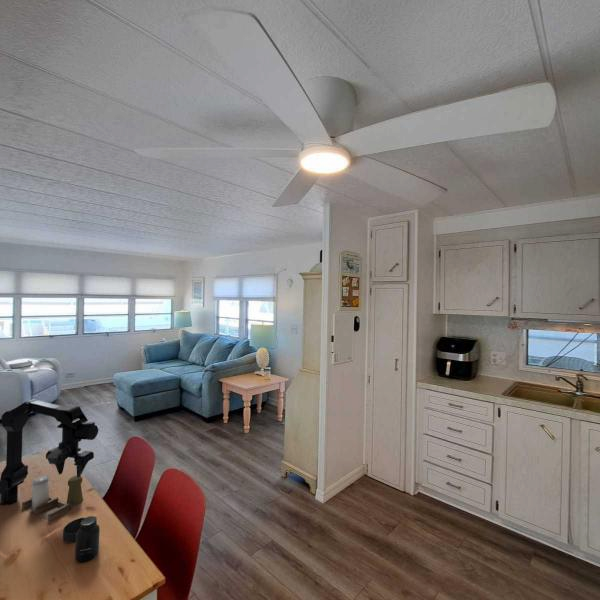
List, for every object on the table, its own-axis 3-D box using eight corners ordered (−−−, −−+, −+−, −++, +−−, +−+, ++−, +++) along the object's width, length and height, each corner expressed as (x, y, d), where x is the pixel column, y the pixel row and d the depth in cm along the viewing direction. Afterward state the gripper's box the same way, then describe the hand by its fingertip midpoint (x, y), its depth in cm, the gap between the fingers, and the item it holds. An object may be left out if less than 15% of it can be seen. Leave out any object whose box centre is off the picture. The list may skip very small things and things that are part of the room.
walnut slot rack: (22, 510, 134) (22, 502, 134) (43, 499, 142) (44, 491, 142) (49, 523, 127) (50, 514, 127) (71, 511, 134) (71, 503, 134)
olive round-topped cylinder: (74, 508, 136) (75, 481, 136) (62, 506, 137) (62, 480, 137) (86, 499, 142) (87, 474, 142) (74, 497, 143) (75, 472, 143)
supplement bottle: (81, 567, 107) (81, 530, 107) (71, 558, 110) (71, 522, 110) (103, 553, 113) (103, 518, 113) (92, 545, 116) (93, 511, 116)
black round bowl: (69, 547, 115) (69, 536, 115) (58, 537, 120) (58, 526, 120) (96, 533, 123) (96, 522, 123) (84, 523, 127) (85, 513, 127)
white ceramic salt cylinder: (28, 507, 135) (29, 481, 135) (43, 500, 140) (44, 474, 140) (36, 511, 132) (37, 484, 132) (51, 503, 138) (52, 477, 138)
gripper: (32, 443, 131) (32, 482, 131) (71, 449, 127) (70, 489, 127) (59, 432, 142) (58, 468, 142) (95, 437, 138) (94, 474, 138)
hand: (69, 475), depth 137 cm, fingers open, 9 cm apart
